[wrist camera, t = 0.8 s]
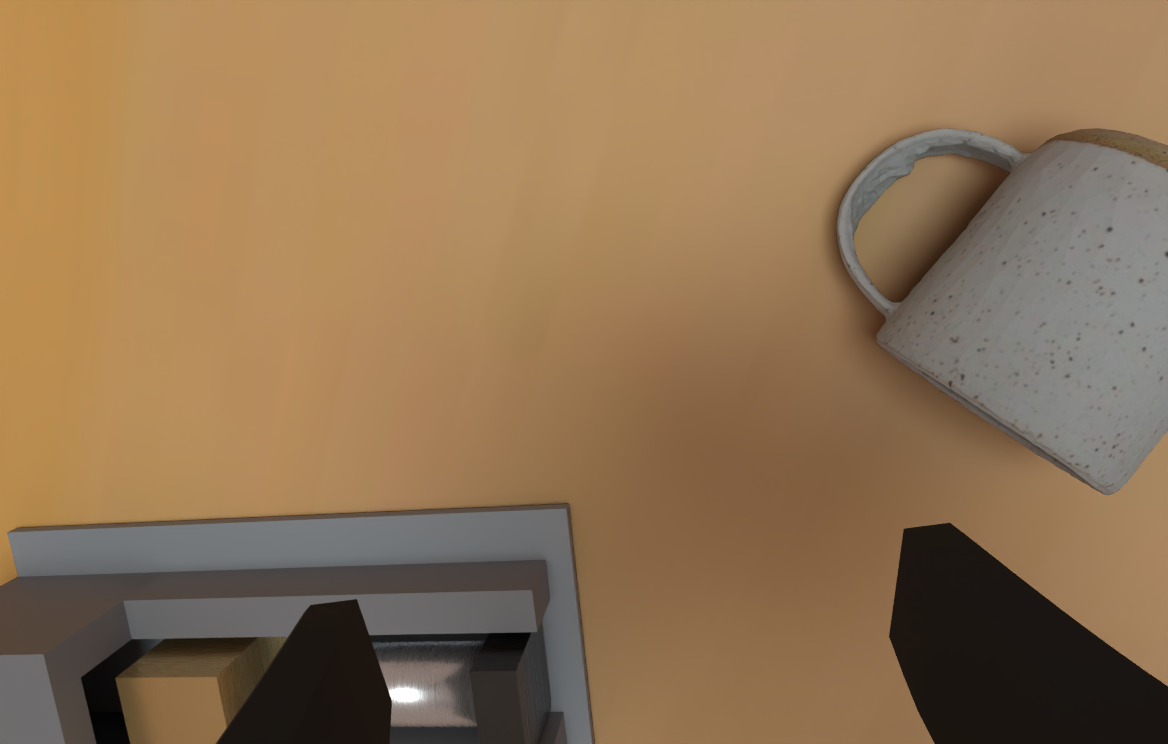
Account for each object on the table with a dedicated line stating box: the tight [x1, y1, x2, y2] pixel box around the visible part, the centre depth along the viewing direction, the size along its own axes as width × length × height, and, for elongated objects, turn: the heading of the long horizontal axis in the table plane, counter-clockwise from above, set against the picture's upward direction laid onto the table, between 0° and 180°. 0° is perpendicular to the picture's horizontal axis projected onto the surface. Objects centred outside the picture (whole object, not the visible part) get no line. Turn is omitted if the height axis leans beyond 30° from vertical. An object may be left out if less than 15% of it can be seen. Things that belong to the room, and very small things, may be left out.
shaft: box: [372, 624, 551, 744], centre depth 30 cm, size 4×10×4 cm, turn 96°
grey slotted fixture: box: [0, 504, 595, 744], centre depth 30 cm, size 12×24×7 cm, turn 96°
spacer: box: [115, 637, 286, 744], centre depth 31 cm, size 4×4×4 cm
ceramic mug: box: [836, 129, 1168, 495], centre depth 23 cm, size 11×8×8 cm
